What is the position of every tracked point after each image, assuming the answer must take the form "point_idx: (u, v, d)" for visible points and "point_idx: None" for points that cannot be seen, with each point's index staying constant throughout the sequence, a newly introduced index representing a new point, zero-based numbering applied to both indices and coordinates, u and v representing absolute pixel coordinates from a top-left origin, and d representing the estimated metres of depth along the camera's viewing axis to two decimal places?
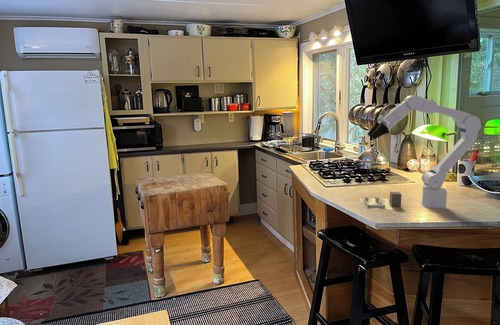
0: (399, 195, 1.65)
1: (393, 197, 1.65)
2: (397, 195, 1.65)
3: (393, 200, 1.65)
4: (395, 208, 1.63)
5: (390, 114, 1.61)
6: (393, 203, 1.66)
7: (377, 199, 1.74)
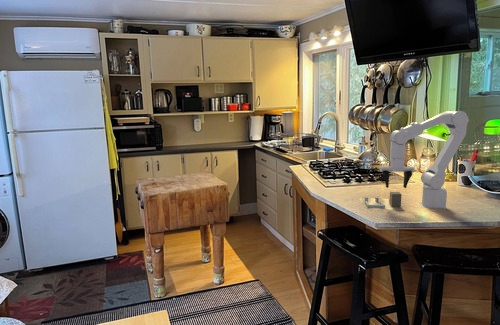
0: (399, 195, 1.65)
1: (393, 197, 1.65)
2: (397, 195, 1.65)
3: (393, 200, 1.65)
4: (395, 208, 1.63)
5: (402, 161, 1.62)
6: (393, 203, 1.66)
7: (377, 199, 1.74)
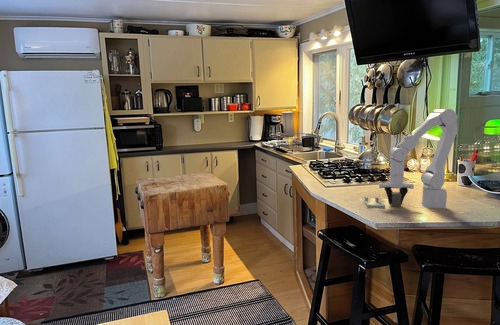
0: (399, 195, 1.65)
1: (393, 197, 1.65)
2: (397, 195, 1.65)
3: (393, 200, 1.65)
4: (395, 208, 1.63)
5: (401, 178, 1.63)
6: (393, 203, 1.66)
7: (377, 199, 1.74)
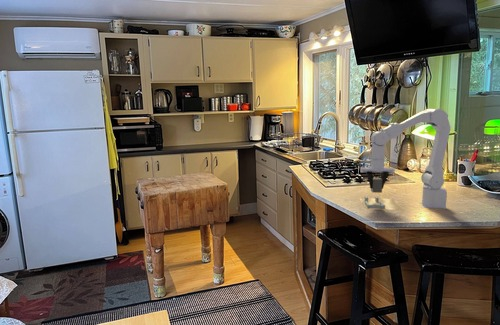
0: (380, 180, 1.65)
1: (374, 182, 1.65)
2: (378, 180, 1.65)
3: (374, 185, 1.66)
4: (395, 208, 1.63)
5: (382, 162, 1.63)
6: (374, 188, 1.66)
7: (377, 199, 1.74)
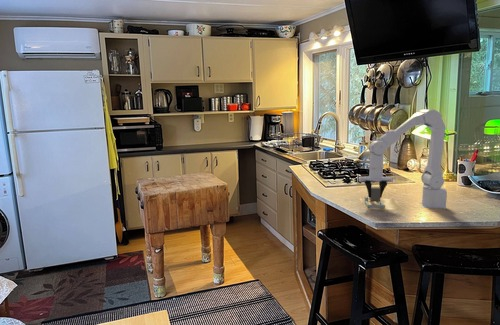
0: (378, 189, 1.66)
1: (372, 191, 1.66)
2: (376, 189, 1.66)
3: (372, 194, 1.66)
4: (395, 208, 1.63)
5: (380, 171, 1.64)
6: (372, 197, 1.67)
7: None
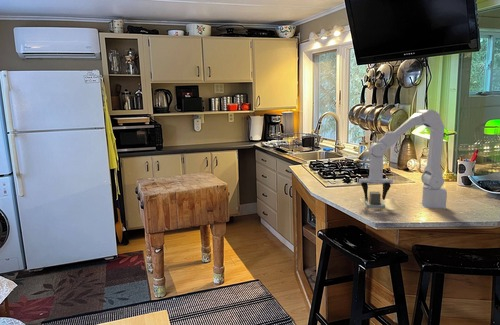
0: (378, 195, 1.66)
1: (372, 197, 1.66)
2: (376, 195, 1.66)
3: (372, 200, 1.67)
4: (395, 208, 1.63)
5: (380, 173, 1.64)
6: (372, 203, 1.67)
7: None
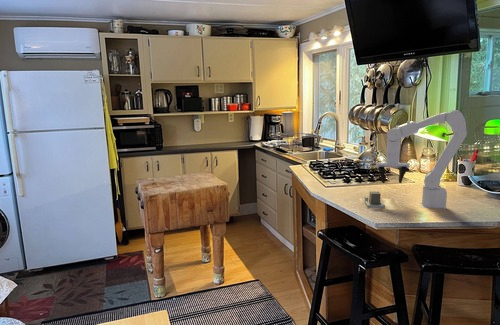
0: (378, 195, 1.66)
1: (372, 197, 1.66)
2: (376, 195, 1.66)
3: (372, 200, 1.67)
4: (395, 208, 1.63)
5: (397, 157, 1.69)
6: (372, 203, 1.67)
7: None
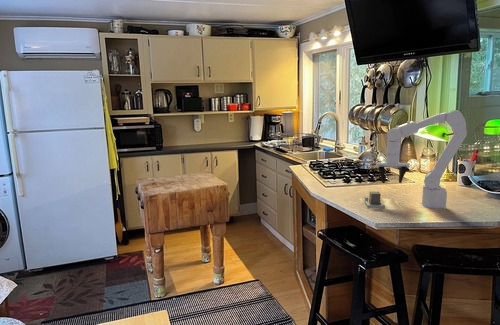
0: (378, 195, 1.66)
1: (372, 197, 1.66)
2: (376, 195, 1.66)
3: (372, 200, 1.67)
4: (395, 208, 1.63)
5: (397, 157, 1.69)
6: (372, 203, 1.67)
7: None
